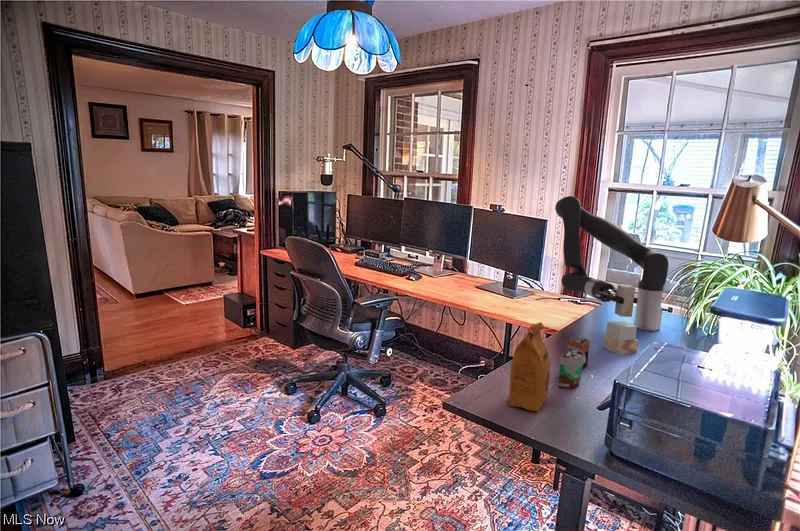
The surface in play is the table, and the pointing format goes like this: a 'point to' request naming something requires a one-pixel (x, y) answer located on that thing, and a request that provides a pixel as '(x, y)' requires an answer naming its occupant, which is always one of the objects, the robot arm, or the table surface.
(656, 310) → the robot arm
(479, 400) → the table surface
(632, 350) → the block
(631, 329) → the tower top
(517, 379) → the coffee package
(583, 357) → the food container
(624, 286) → the box
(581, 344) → the battery
